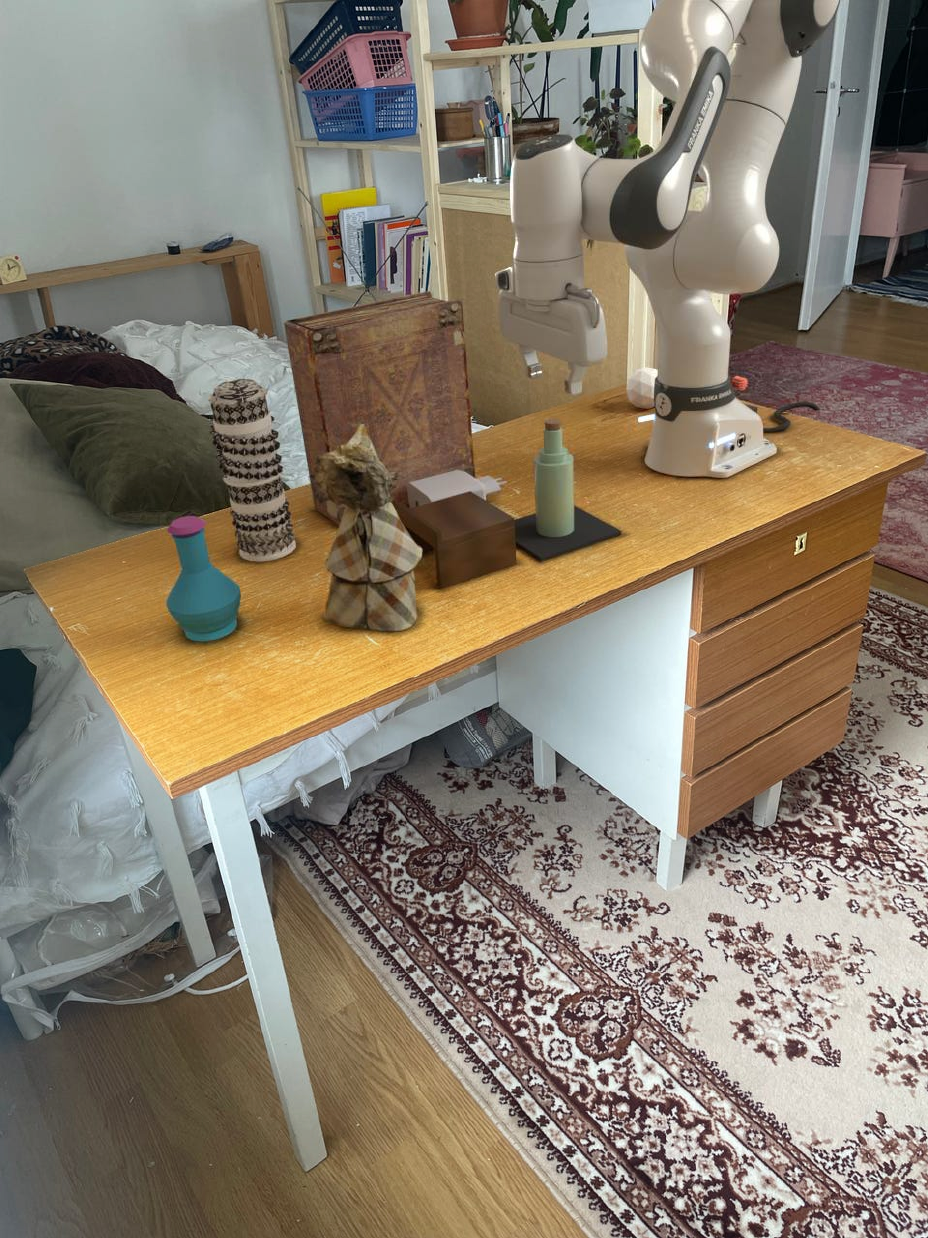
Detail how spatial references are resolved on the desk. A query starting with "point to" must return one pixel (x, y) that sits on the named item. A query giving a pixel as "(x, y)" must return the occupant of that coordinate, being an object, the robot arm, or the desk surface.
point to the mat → (549, 547)
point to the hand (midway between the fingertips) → (553, 384)
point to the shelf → (462, 536)
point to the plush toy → (366, 541)
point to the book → (385, 386)
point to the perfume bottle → (200, 586)
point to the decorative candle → (251, 470)
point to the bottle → (554, 484)
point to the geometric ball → (642, 387)
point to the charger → (450, 487)
